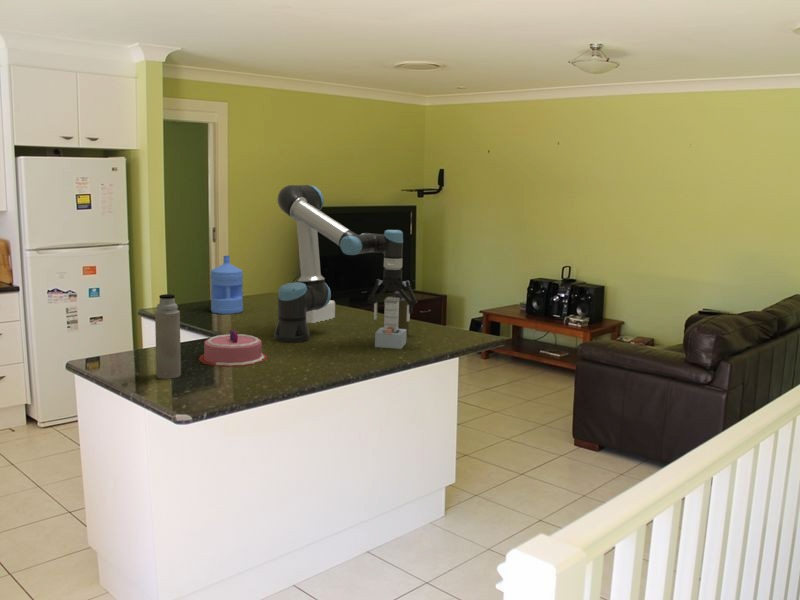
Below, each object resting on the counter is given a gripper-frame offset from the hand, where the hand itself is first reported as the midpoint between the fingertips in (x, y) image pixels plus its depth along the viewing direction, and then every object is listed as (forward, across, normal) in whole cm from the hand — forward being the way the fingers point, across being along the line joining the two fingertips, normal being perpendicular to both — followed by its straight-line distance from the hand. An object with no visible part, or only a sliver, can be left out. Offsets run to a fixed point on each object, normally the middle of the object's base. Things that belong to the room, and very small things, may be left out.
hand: (391, 320), depth 299 cm
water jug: (+11, -93, +50) cm, 106 cm away
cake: (+12, -54, -35) cm, 66 cm away
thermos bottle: (+11, -65, -64) cm, 92 cm away
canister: (+12, -1, +20) cm, 23 cm away
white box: (+11, -49, +46) cm, 69 cm away
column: (+10, 0, 0) cm, 10 cm away
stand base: (+11, 0, 0) cm, 11 cm away
